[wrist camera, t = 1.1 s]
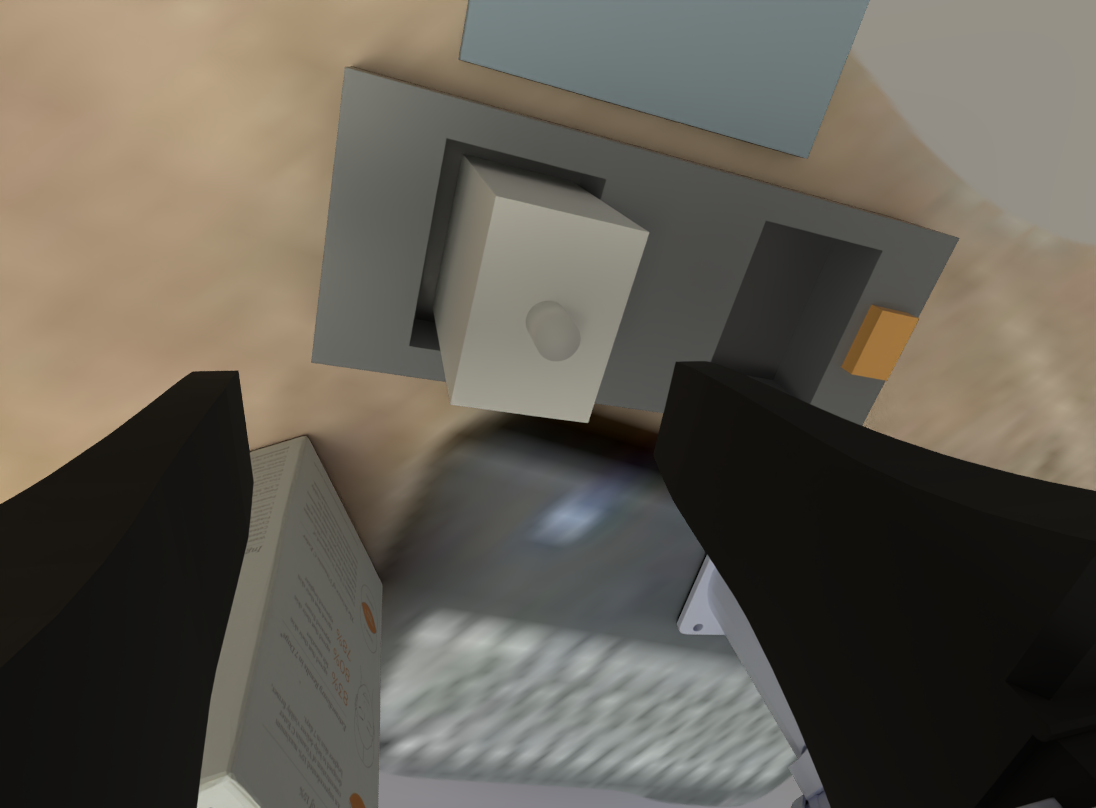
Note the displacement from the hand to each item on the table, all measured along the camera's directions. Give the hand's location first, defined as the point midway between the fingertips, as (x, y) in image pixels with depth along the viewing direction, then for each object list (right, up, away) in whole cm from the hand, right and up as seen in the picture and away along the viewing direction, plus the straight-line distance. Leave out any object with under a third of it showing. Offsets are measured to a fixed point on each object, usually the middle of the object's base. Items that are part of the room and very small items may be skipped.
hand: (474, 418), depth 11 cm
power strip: (+4, +5, +13) cm, 14 cm away
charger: (0, +5, +10) cm, 12 cm away
